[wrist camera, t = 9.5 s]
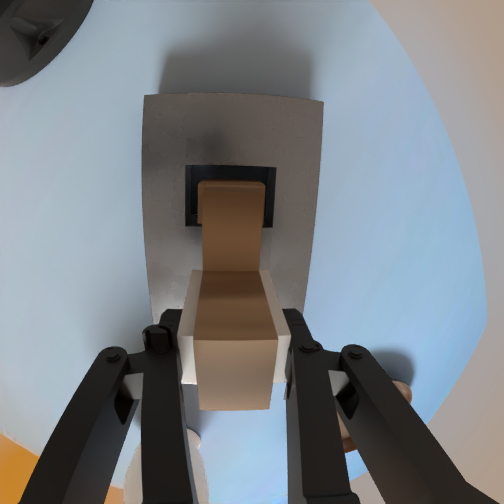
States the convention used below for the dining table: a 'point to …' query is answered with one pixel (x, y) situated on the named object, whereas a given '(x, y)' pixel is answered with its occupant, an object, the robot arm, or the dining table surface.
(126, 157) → the dining table surface
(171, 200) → the grey slotted base block
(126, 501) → the jar
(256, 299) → the brown wooden branched block
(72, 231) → the dining table surface
